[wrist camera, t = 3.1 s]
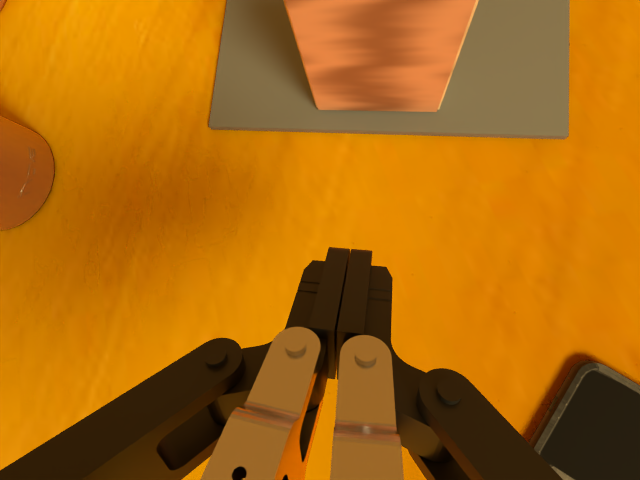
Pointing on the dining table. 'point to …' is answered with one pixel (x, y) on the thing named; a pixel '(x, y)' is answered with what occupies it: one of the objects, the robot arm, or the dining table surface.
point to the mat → (450, 120)
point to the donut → (2, 3)
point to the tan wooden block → (379, 51)
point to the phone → (592, 426)
